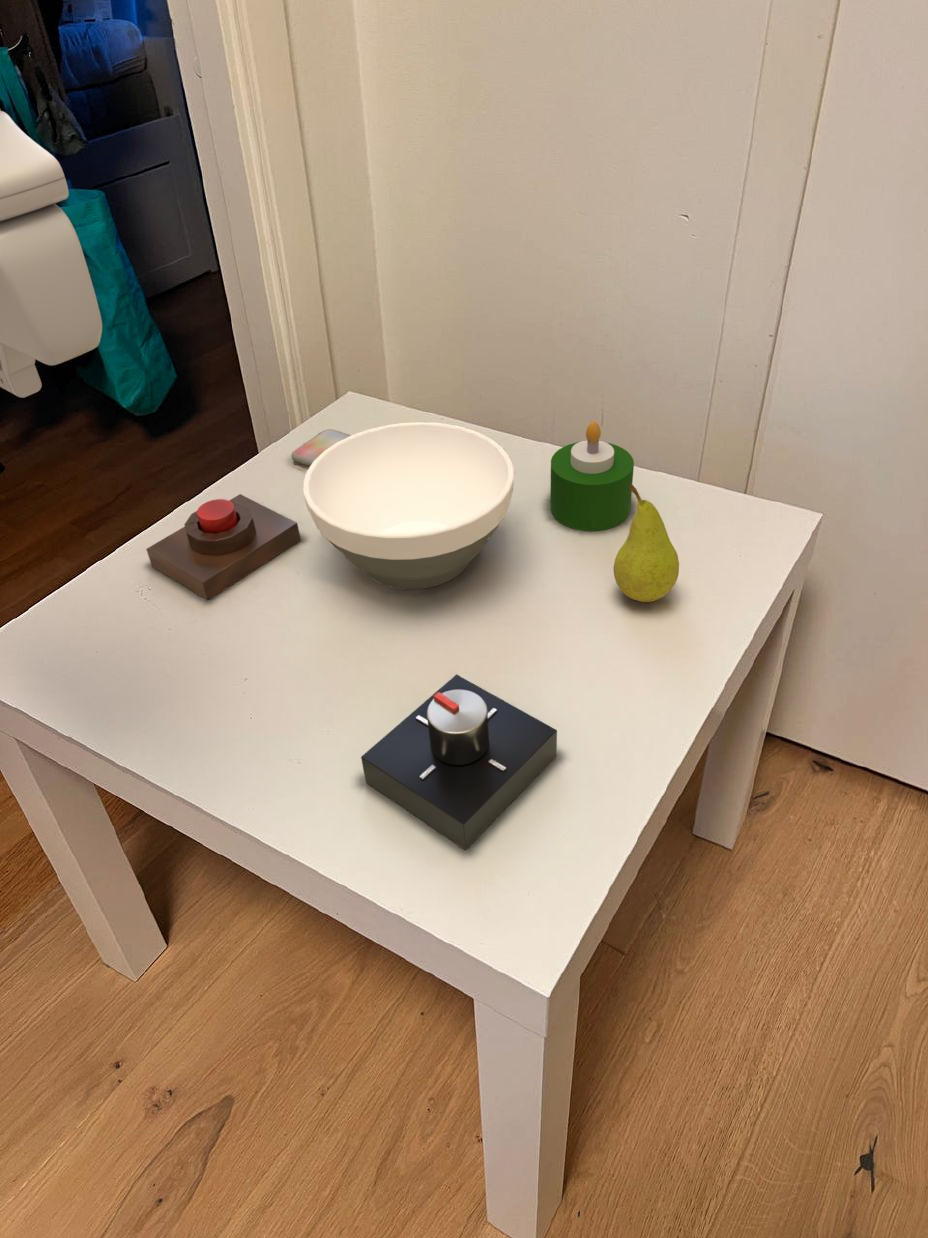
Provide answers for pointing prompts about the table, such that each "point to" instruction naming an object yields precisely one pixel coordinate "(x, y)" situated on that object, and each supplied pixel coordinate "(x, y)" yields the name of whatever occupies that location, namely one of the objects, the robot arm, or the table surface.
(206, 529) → the light button
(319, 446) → the smartphone
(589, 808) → the table surface
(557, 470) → the candle
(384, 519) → the bowl
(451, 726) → the dimmer knob
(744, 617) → the table surface
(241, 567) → the lamp switch
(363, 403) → the table surface
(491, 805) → the dimmer panel
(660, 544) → the fruit
